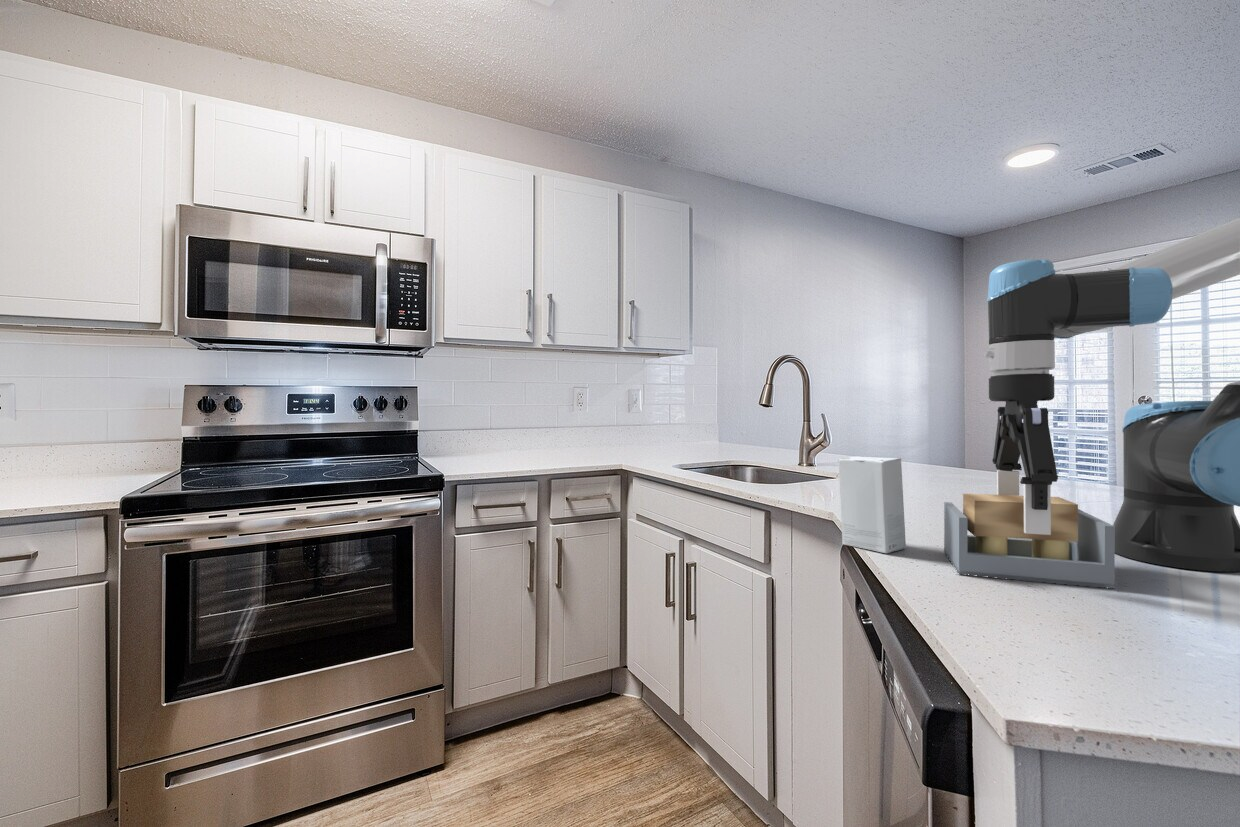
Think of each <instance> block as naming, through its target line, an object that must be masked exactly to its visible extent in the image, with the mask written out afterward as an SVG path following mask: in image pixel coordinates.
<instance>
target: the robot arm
mask: <svg viewBox="0 0 1240 827" xmlns="http://www.w3.org/2000/svg"><path fill="white" fill-rule="evenodd" d="M1054 267H1055V266H1054V263H1053V262H1052V261H1051V260H1049V259H1045V258H1044V259H1043V258H1041V259H1035V258H1034V259H1025V260H1024V259H1022V260H1017V261H1012V262H1011V261H1010V262H1008V263H1005V264H1004V263H1003V264H1000V265H999V266H997V267H996V268H994V269H993V270H992V271H991V272H990V273H989V277H988V289H987V291H988V293H987V299H986V303H987V313H988V315H987V316H988V350H987V351H984V354H983V355H984V358H986V359H987V358H988V359H989V360H988V371H989V372H990V373H993V375H991V376H990V378H988V400H990V401H991V402H1005V406H998V407H997V425H996V433H995V440H994V449H993V454H992V455H993V457H992V464H993V465H995V468H996V495H1017V496H1020V484H1021V485H1023V496H1024V533H1026V534H1043V535H1051V497H1052V496H1051V492H1052V490H1051V487H1052V485H1053V483H1056V482H1057V481H1058V480H1059V476H1058V472H1057V466H1056V460H1055V455H1054V448H1053V443H1052V438H1051V433H1050V431H1051V430H1050V427H1049V410H1048V408H1047V407H1038V402H1044V401H1049V402H1050V401H1052V400H1054V398H1055V376H1054V375H1053V374H1052V373H1050V370H1054V369H1055V368H1056V356H1055V355H1056V354H1055V351H1056V350H1055V343H1056V342H1055V340H1056V339H1061V340H1063V339H1065V340H1066V339H1070V338H1074V337H1075V336H1078V335H1081V334H1085V333H1092V332H1094V331H1099V330H1100V331H1101V330H1103V329H1108V328H1113V327H1114V328H1115V327H1127V326H1129V327H1130V328H1131V327H1134V326H1139V325H1140V326H1141V325H1142V326H1143V325H1148V324H1149V325H1151V324H1156V323H1157V322H1160V320H1162V319H1163V318H1164V317H1165V316H1166V315H1167V313H1168V312H1169V310H1170V307H1171V304H1172V303H1173V302H1172V301H1173V300H1176V299H1178V298H1180V297H1182V296H1186V295H1188V294H1191V293H1194V292H1196V291H1197V292H1198V291H1199V290H1202V289H1204V288H1207V287H1210V286H1212V285H1215V284H1219V283H1221V282H1224V281H1226V280H1229V279H1232V278H1234V277H1237V276H1240V217H1239V218H1236V219H1233V220H1232V221H1229V222H1226V223H1224V224H1221V225H1219V226H1216V227H1214V228H1211V229H1209V230H1206V231H1204V232H1201V233H1199V234H1196V235H1194V236H1192V237H1188V238H1187V239H1184V240H1181V241H1178V242H1177V243H1174V244H1171V245H1168V246H1167V247H1164V248H1161V249H1159V250H1156V251H1154V252H1151V253H1149V254H1146V255H1144V256H1142V257H1139V258H1136V259H1134V260H1132V261H1129V262H1127V263H1124V264H1121V265H1119V266H1117V267H1114V268H1111V269H1108V270H1099V271H1087V272H1077V273H1056V269H1055V268H1054ZM1123 423H1124V424H1123V426H1122V428H1121V429H1122V433H1123V437H1122V438H1123V499H1122V500H1123V502H1122V504H1121V506H1120V509H1119V510H1118V512H1117V515H1116V517H1115V519H1114V522H1113V524H1112V525H1113V526H1115V555H1116V554H1117V555H1118V556H1119V555H1120V556H1122V557H1125V558H1129V559H1131V560H1136V561H1139V562H1144V563H1149V564H1155V565H1160V566H1165V567H1170V568H1171V567H1172V568H1173V567H1174V568H1178V569H1179V568H1180V569H1186V570H1187V569H1188V570H1196V571H1205V572H1207V571H1208V572H1228V573H1230V572H1233V573H1234V572H1240V522H1239V520H1238V518H1237V515H1236V513H1235V506H1237V507H1240V380H1239V381H1234V382H1233V381H1232V382H1229V383H1227V384H1226V385H1225V386H1224V387H1223V388H1222V390H1221V391H1220V392H1218V394H1217V395H1216V396H1215V397H1214V399H1213V400H1182V401H1177V400H1176V401H1166V402H1154V403H1153V402H1152V403H1145V404H1139V405H1138V404H1137V405H1135V406H1132V407H1130V408H1129V409H1128V410H1126V411H1125V415H1124V421H1123ZM1020 459H1021V463H1022V465H1021V463H1019V462H1020V461H1019V460H1020ZM1022 467H1023V468H1022ZM1022 470H1023V471H1024V475H1025V476H1022V477H1021V478H1020V471H1022Z"/></svg>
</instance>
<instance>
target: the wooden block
mask: <svg viewBox="0 0 1240 827" xmlns="http://www.w3.org/2000/svg"><path fill="white" fill-rule="evenodd" d="M1078 509H1079V504H1077V503H1074V502H1073V501H1070V500H1067V499H1064V498H1062V497H1060V496H1051V535H1043V534H1026V533H1024V495H1019V496H1017V495H997V494H988V493H987V494H986V493H985V494H983V493H962V513H963V514H964V515H965V516H966V517H967V532H969V533H970V534H971V535H974V536H986V537H1004V538H1019V539H1039V540H1056V541H1074V542H1078Z"/></svg>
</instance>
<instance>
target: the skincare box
mask: <svg viewBox="0 0 1240 827" xmlns="http://www.w3.org/2000/svg"><path fill="white" fill-rule="evenodd" d="M902 471H903V470H902V458H900V457H881V456H880V457H879V456H877V457H874V456H858V455H857V456H851V457H845V458H840V459H838V478H839V480H838V481H839V495H840V496H839V499H840V500H839V502H840V517H841V537H842V538H841V539H842V542H841V543H842V545H844V546H850V547H854V548H858V549H859V548H860V549H864V550H869V551H875V552H877V553H883V554H890V553H893V552H896V551H902V550H904V549H906V547H907V543H906V525H905V524H906V523H905V522H906V521H905V508H904V507H905V505H904V490H903V489H904V486H903V472H902Z"/></svg>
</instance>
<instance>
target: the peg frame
mask: <svg viewBox="0 0 1240 827" xmlns="http://www.w3.org/2000/svg"><path fill="white" fill-rule="evenodd" d="M943 504H944V505H943V506H944V507H943V512H944V513H943V519H944V523H943V525H944V528H943V531H944V532H943V533H944V534H943V542H944V543H943V546H944V548H943V549H944V550H943V552H945V553H946V554H945V553H944V554H945V556H946V555H947V556H948V557H947V556H946V557H947V559H948V558H949V559H950V560H949V559H948V560H949V561H951V562H952V563H951V562H950V563H951V565H952V564H953V565H954V566H953V565H952V566H953V568H954V567H955V568H956V569H955V568H954V569H955V571H956V570H957V571H956V572H957V574H958V573H959V574H966V575H968V574H969V575H977V576H988V577H997V578H996V579H999V578H1007V579H1006V580H1009V579H1014V580H1013V581H1020V580H1023V582H1031V581H1037V582H1036V583H1042V582H1046V583H1045V584H1053V583H1056V584H1057V585H1064V584H1067V586H1075V585H1079V587H1086V586H1090V587H1089V588H1097V587H1108V588H1114V589H1115V580H1116V579H1115V574H1116V573H1115V571H1116V570H1115V557H1116V556H1115V555H1116V553H1115V526H1113V524H1111V523H1108V522H1106V521H1105V520H1103V519H1100V518H1098V517H1096V516H1094V515H1092V514H1090V513H1088V512H1085V511H1083V510H1081V509H1079V508H1078V542H1074V541H1056V540H1039V539H1021V538H1004V537H986V536H974V535H973V534H968V530H967V517H966V516H965V515H964V514H963V511H961V510H960V509H959V508H958V507H957V506H956V505H955V504H954V503H953V502H951V501H950V502H949V501H947V502H946V501H945V502H943ZM959 574H958V575H959ZM966 575H965V576H966ZM977 576H976V577H977ZM988 577H987V578H988ZM1108 588H1107V589H1108Z"/></svg>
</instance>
